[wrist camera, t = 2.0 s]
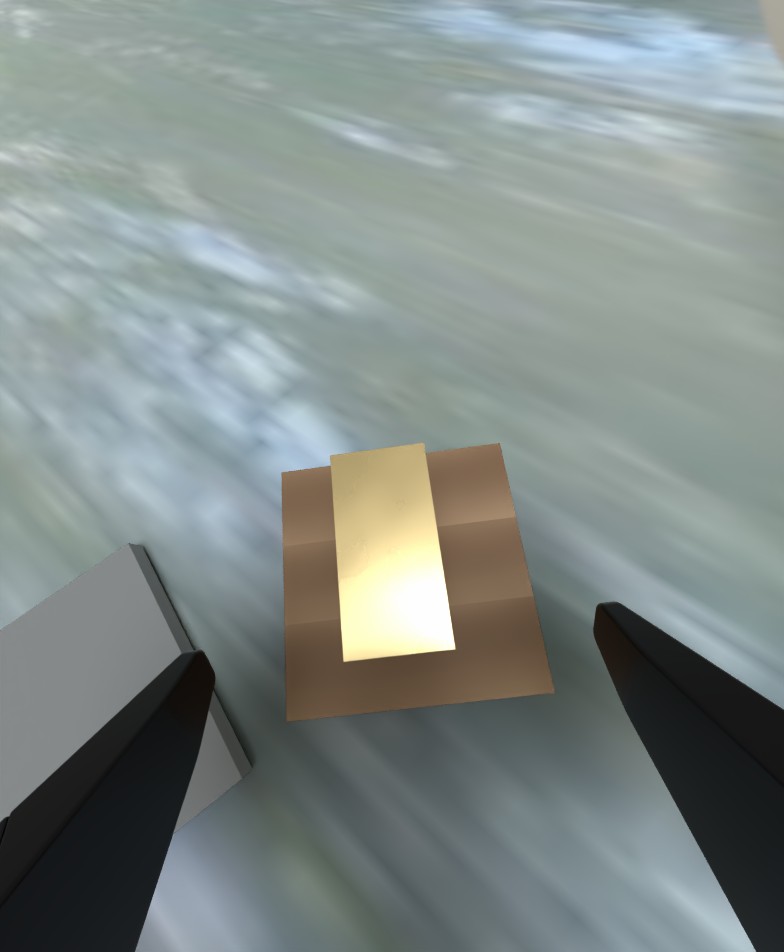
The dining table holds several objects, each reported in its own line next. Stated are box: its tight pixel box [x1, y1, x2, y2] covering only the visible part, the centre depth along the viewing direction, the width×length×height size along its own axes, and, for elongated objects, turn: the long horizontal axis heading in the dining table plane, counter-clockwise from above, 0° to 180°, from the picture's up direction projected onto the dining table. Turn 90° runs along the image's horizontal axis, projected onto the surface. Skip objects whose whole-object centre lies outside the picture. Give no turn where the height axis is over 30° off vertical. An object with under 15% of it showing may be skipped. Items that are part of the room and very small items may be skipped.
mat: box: [0, 543, 252, 834], centre depth 17 cm, size 12×12×1 cm
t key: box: [330, 443, 455, 662], centre depth 14 cm, size 5×2×10 cm, turn 6°
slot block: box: [282, 443, 555, 722], centre depth 17 cm, size 10×10×3 cm
